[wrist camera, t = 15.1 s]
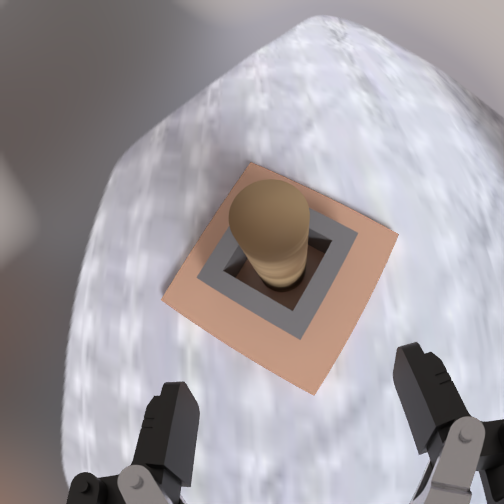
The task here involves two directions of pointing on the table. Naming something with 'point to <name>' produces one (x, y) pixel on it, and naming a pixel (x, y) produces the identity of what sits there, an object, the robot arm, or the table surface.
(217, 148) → the table surface
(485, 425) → the robot arm
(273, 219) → the tan dome-topped cylinder
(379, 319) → the table surface
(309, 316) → the holder
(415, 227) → the table surface
